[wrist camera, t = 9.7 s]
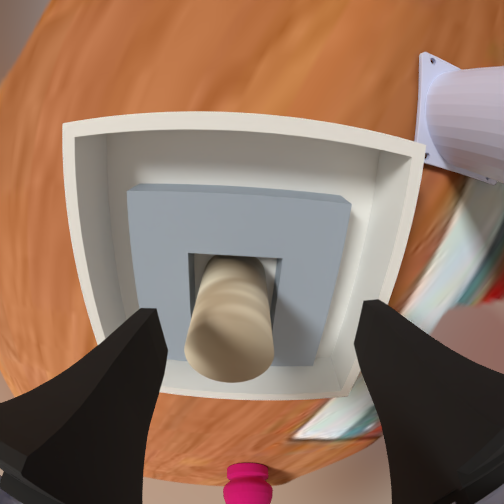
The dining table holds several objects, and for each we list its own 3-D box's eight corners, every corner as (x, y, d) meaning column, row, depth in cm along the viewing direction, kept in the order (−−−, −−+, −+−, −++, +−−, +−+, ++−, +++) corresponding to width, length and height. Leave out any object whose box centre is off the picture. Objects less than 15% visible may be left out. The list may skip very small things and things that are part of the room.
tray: (387, 138, 15) (426, 145, 11) (335, 357, 23) (347, 396, 19) (102, 121, 15) (62, 123, 10) (128, 345, 22) (112, 383, 18)
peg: (261, 245, 17) (269, 315, 11) (268, 299, 19) (277, 378, 13) (197, 253, 18) (172, 325, 11) (210, 305, 19) (197, 384, 13)
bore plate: (340, 195, 16) (351, 204, 14) (308, 347, 21) (312, 365, 19) (139, 183, 16) (126, 190, 14) (155, 339, 21) (149, 356, 19)
